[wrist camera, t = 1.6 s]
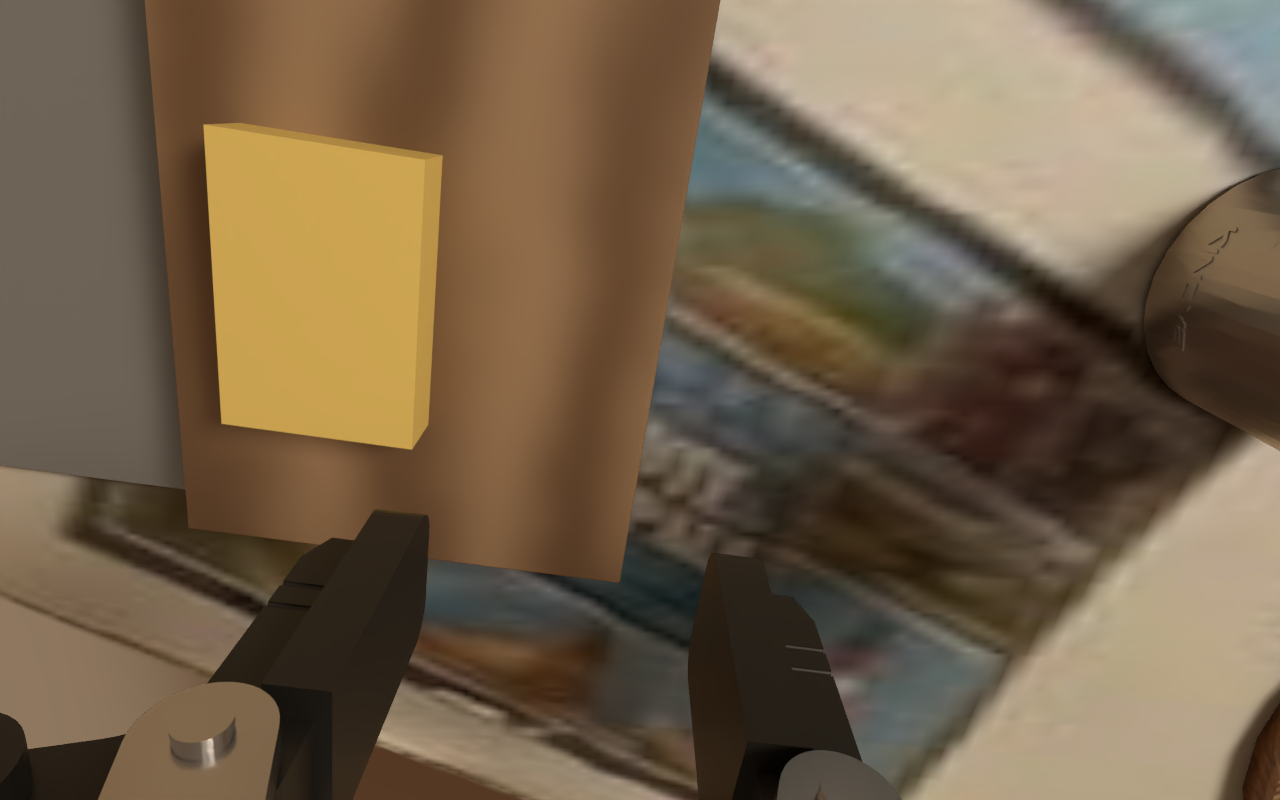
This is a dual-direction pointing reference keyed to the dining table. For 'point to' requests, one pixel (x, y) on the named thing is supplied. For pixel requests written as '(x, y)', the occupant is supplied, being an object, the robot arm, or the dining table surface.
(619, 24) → the deck
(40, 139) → the mat
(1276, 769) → the trivet
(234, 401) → the tile
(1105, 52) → the dining table surface
